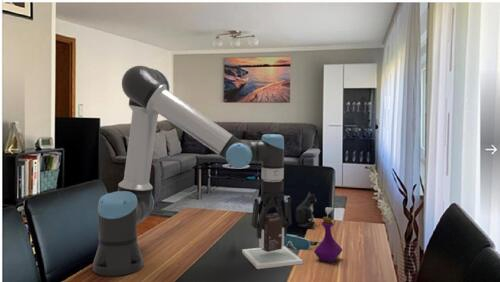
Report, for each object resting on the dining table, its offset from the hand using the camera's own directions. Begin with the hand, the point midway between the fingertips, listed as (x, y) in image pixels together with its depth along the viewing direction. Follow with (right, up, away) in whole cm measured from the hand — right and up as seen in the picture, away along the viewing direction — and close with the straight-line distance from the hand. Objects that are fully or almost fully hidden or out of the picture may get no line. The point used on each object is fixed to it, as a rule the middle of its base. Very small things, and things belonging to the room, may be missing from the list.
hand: (271, 246), depth 143 cm
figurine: (+17, -2, +40) cm, 43 cm away
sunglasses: (+12, -4, +17) cm, 21 cm away
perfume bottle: (+19, -5, -1) cm, 20 cm away
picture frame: (0, -4, 0) cm, 4 cm away
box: (0, -1, 0) cm, 1 cm away
